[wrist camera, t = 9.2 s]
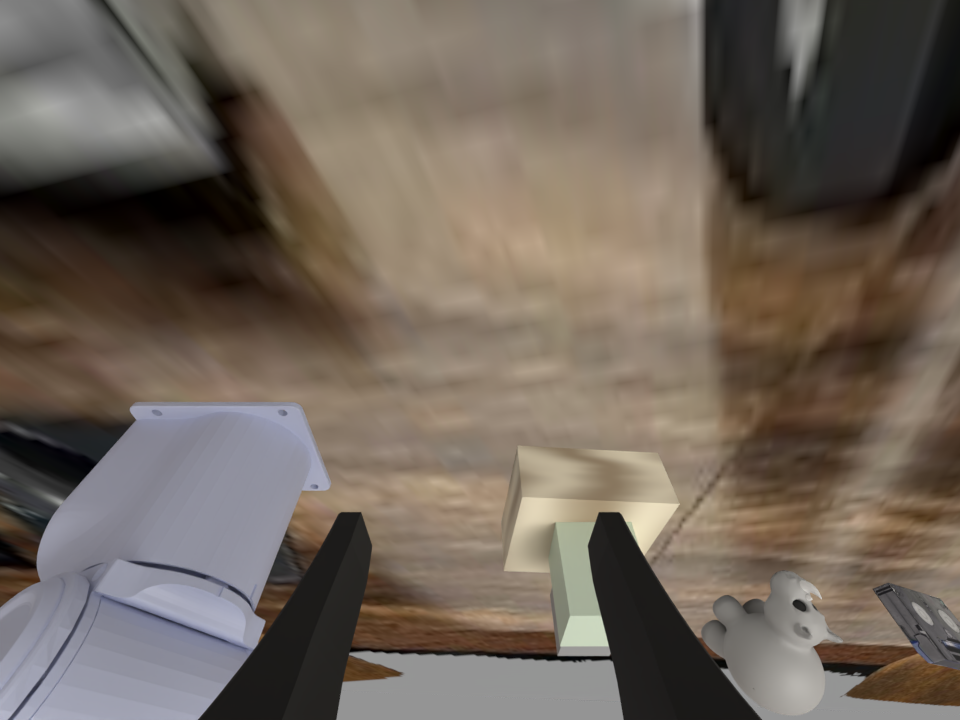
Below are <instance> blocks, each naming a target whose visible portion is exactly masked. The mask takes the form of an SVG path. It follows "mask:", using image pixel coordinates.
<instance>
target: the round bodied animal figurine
mask: <svg viewBox="0 0 960 720" xmlns="http://www.w3.org/2000/svg"><path fill="white" fill-rule="evenodd" d="M770 588H771V593H770V595H769V597H768V598H767V600H766V601H765V602H764V601H762V600H760V599H751V600H749V601H747V602H746V603H745V604H744V605H743V606H742V605H741V604H740V603H739V602H738V601H737V600H736V599H735V598H734V597H732V596H730V595H724V596H722V597H720V598H718V599H717V600H716V601H715V602H714V604H713V612H714V614H715V616H716V617H717V619H718V620H719V621H718V620H711V621H709V622H707V623H706V624H705V625H704V626H703V628H702V630H701V635H702V638H703V640H704V642H705V643H706V645H707V646H708V647H709V648H710V649H711V650H712V651H714V652H715V653H716V654H717V655H719V656H721V657H722V658H724V659H725V660H726V663H727V666H728V669H729V671H730V673H731V675H732V677H733V678H734V680H735V681H736V683H737V684H738V686H739V687H740V688H741V689H742V690H743V692H744V693H745V694H746V695H747V696H748V697H750V698H751V699H752V700H753V701H754V702H756V703H757V704H758V705H760V706H761V707H763V708H765V709H767V710H770V711H772V712H775V713H778V714H782V715H788V716H796V715H802V714H805V713H808V712H809V711H811V710H813V709H814V708H815V707H816V706H817V705H818V704H819V702H820V701H821V699H822V697H823V694H824V690H825V674H824V669H823V666H822V663H821V660H820V658H819V656H818V654H817V652H816V651H815V649H814V648H813V646H815V645H818V644H819V643H820V642H821V641H822V640H824V639H827V640H830V641H833V642H836V643H842V642H843V640H842V639H841V638H840V637H839V636H837V635H836V634H834V633H833V632H832V631H831V630H830V629H829V628H828V626H827V624H826V622H825V617H824V615H822V614H821V613H820V612H819V611H818V610H817V608H816V607H815V606H814V605H813V604H812V602H811V600H813V599H812V598H811V595H810V593H813V594H815V595H816V596H818V597H819V598H820V599H822V597H821V595H820V593H819V591H818V590H817V588H816V587H815V586H814V585H813V584H811V583H810V582H807V581H806V580H805V579H803V578H801V577H799V576H798V575H797V574H795V573H793V572H791V571H786V570H782V571H779V572H776V573H775V574H774V575H773V576H772V577H771V580H770Z"/></svg>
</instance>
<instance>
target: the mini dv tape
mask: <svg viewBox="0 0 960 720" xmlns="http://www.w3.org/2000/svg"><path fill="white" fill-rule="evenodd" d="M873 591H874V592H875V594H876V595H877V596H878V598H879V599H880V601H881V602H882V603H883V605H884V606H885V608H886V609H887V611H888V612H889V613H890V615H891V616H892V618H893V619H894V620H895V622H896V623H897V625H898V626H899V627H900V629H901V630H902V632H903V633H904V634H905V636H906V637H907V639H908V640H909V641H910V643H911V644H912V646H913V647H914V648H915V650H916V651H917V653H918V654H919V655H921V656H922V657H923V658H924V659H925V660H926V661H927V662H928V663H931V664H935V665H940V666H944V667H949V668H953V669H958V670H960V622H959V621H958V620H957V618H956V617H955V616H954V615H953V613H952V612H951V611H950V610H949V609H948V607H947V606H946V605H945V604H944V602H943V601H942V600H941V599H940V598H937V597H933V596H930V595H927V594H924V593H921V592H917V591H914V590H911V589H908V588H904V587H901V586H898V585H895V584H891V583H886V584H883V585H881V586H878V587H876V588H873Z"/></svg>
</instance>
